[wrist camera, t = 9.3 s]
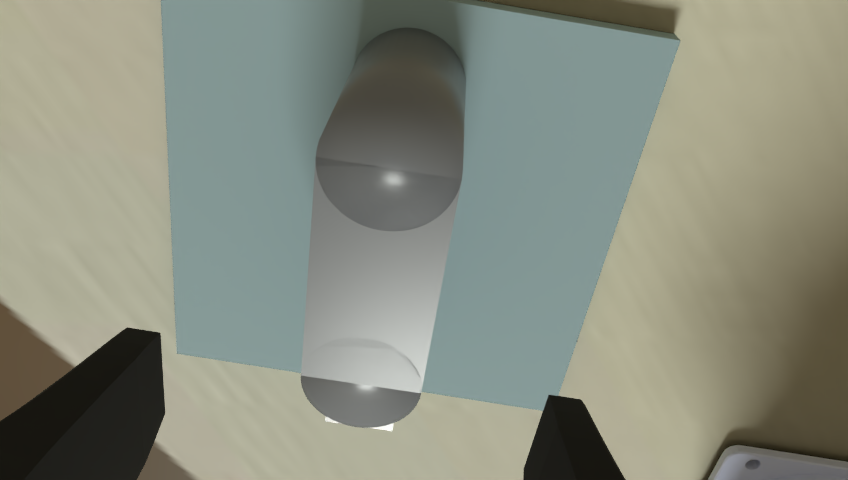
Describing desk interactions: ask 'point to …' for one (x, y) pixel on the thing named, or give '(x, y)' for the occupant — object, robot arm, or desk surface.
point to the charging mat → (479, 193)
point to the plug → (382, 228)
